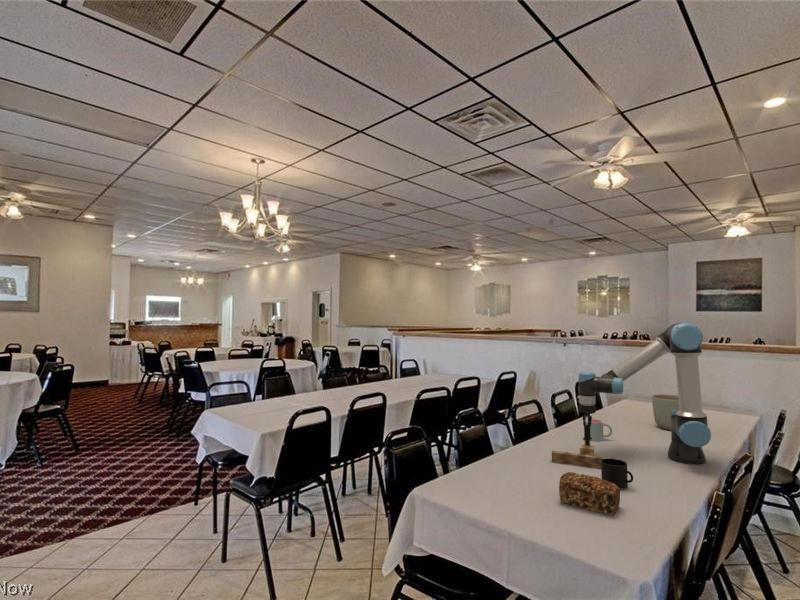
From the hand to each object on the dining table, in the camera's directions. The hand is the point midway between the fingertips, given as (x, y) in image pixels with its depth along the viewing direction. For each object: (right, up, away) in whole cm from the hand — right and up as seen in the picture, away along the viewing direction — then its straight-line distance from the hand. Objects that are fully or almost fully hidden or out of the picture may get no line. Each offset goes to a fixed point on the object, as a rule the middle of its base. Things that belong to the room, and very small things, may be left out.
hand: (587, 453), depth 209 cm
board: (-8, -1, -13) cm, 15 cm away
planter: (+74, -4, +52) cm, 91 cm away
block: (-2, -1, -5) cm, 5 cm away
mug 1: (+19, -3, +29) cm, 35 cm away
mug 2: (-4, 0, -37) cm, 37 cm away
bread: (-23, 0, -54) cm, 59 cm away
